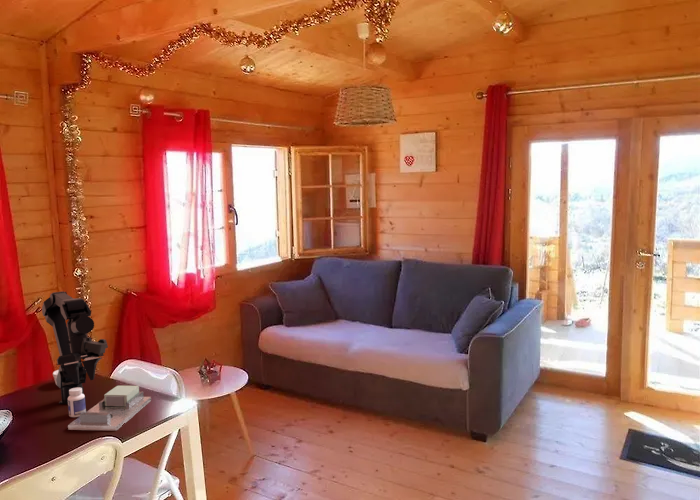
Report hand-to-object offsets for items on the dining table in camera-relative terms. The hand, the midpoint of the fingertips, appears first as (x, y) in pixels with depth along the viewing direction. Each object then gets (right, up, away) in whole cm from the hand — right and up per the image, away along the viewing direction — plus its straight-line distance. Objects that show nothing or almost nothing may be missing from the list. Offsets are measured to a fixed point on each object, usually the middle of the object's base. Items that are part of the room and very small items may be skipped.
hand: (84, 381), depth 189 cm
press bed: (+9, -11, +1) cm, 14 cm away
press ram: (+9, -9, +8) cm, 15 cm away
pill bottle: (-3, -12, +2) cm, 12 cm away
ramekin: (-22, -9, +33) cm, 40 cm away
